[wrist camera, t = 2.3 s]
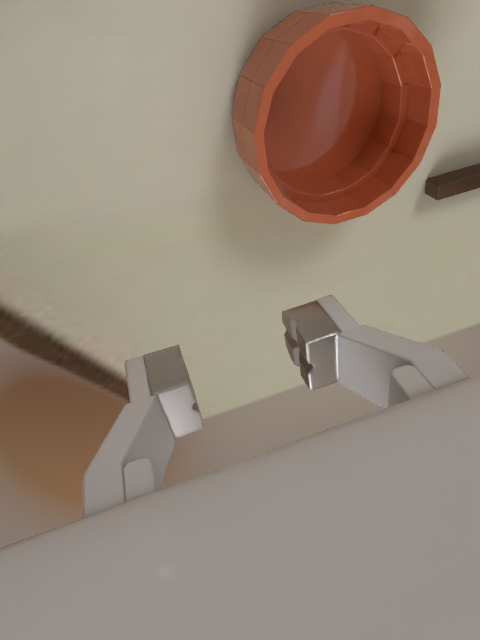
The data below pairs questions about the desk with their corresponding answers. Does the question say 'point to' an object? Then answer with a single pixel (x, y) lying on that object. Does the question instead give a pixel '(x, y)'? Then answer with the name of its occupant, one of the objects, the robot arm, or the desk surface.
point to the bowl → (336, 109)
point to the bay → (453, 182)
